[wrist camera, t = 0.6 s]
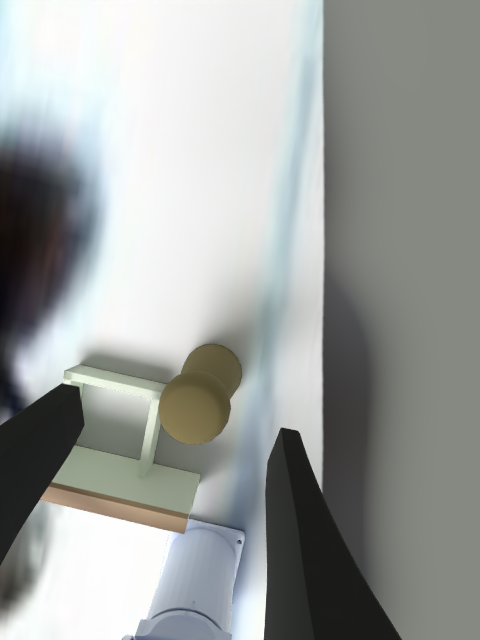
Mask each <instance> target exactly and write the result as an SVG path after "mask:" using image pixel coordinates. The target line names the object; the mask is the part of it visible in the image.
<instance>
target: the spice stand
mask: <svg viewBox="0 0 480 640" xmlns="http://www.w3.org/2000/svg"><path fill="white" fill-rule="evenodd" d="M63 383H64V384H69V385H74V386H79V388H80V395H81V397H82V391H83V385H84V383H85V384H89V385H93V386H98V387H102V388H107V389H111V390H115V391H120V392H124V393H129V394H133V395H138V396H142V397H146V398H151V404H150V410H149V415H148V420H147V425H146V431H145V436H144V441H143V446H142V452H141V457H140V460H136V459H132V458H128V457H123V456H119V455H115V454H110V453H106V452H102V451H98V450H93V449H89V448H85V447H80V446H76V445H74V447H73V449H72V451H71V453H70V454H69V456H68V457H67V459H66V460H65V462H64V463H63V465H62V467H61V468H60V470H59V471H58V473H57V474H56V476H55V477H54V479H53V480H52V482H51V483H50V485H49V486H48V488H47V489H46V491H45V492H44V494H43V495H42V497H41V498H40V500H42V501H46V502H51V503H55V504H59V505H63V506H67V507H72V508H76V509H80V510H84V511H88V512H93V513H97V514H101V515H105V516H109V517H114V518H118V519H122V520H126V521H130V522H135V523H139V524H143V525H147V526H151V527H156V528H160V529H164V530H168V531H172V532H176V533H181V534H184V533H185V530H186V526H187V523H188V519H189V516H190V513H191V509H192V506H193V502H194V499H195V495H196V492H197V488H198V485H199V480H200V476H201V474H196V473H192V472H188V471H184V470H179V469H175V468H171V467H166V466H162V465H158V464H153V462H154V456H155V451H156V446H157V441H158V436H159V431H160V426H161V422H160V419H159V413H158V405H159V401H160V396H161V393H162V392H163V390H164V388H165V387H166V385H167V384H163V383H159V382H154V381H150V380H145V379H141V378H137V377H132V376H128V375H123V374H119V373H114V372H110V371H106V370H101V369H97V368H92V367H88V366H83V365H77V366H75V367H72V368H70V369H67V370H65V371H64V377H63Z"/></svg>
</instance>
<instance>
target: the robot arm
mask: <svg viewBox="0 0 480 640" xmlns="http://www.w3.org/2000/svg"><path fill="white" fill-rule="evenodd" d="M83 427H84V418H83V411H82V403H81V395H80V388H79V386H74V385H69V384H64V383H62V384H60V385H59V386H57V387H56V388H54V389H53V390H51V391H50V392H48V393H47V394H45V395H44V396H43V397H41V398H40V399H38V400H37V401H35V402H34V403H33V404H31V405H30V406H28V407H27V408H25V409H24V410H22V411H21V412H19V413H18V414H16V415H15V416H13V417H12V418H10V419H9V420H7V421H6V422H4V423H3V424H1V425H0V565H1V563H2V561H3V560H4V558H5V556H6V554H7V552H8V551H9V549H10V547H11V545H12V543H13V541H14V540H15V538H16V536H17V534H18V532H19V531H20V529H21V528H22V526H23V524H24V523H25V521H26V519H27V518H28V516H29V515H30V513H31V512H32V510H33V509H34V507H35V506H36V504H37V503H38V501H39V500H40V498H41V497H42V495H43V494H44V492H45V491H46V489H47V488H48V486H49V485H50V483H51V482H52V480H53V479H54V477H55V476H56V474H57V473H58V471H59V470H60V468H61V467H62V465H63V463H64V462H65V460H66V459H67V457H68V456H69V454H70V453H71V451H72V449H73V447H74V445H75V443H76V441H77V439H78V437H79V435H80V433H81V431H82V429H83ZM265 497H266V538H267V594H266V613H265V630H264V640H402V639H401V638H400V636H399V634H398V632H397V631H396V629H395V628H394V626H393V624H392V623H391V621H390V620H389V618H388V616H387V615H386V613H385V612H384V610H383V608H382V607H381V605H380V604H379V602H378V600H377V599H376V598H375V596H374V594H373V592H372V591H371V589H370V587H369V585H368V584H367V582H366V580H365V578H364V577H363V575H362V573H361V572H360V570H359V568H358V566H357V564H356V563H355V561H354V559H353V557H352V556H351V553H350V551H349V550H348V548H347V546H346V544H345V542H344V540H343V538H342V536H341V534H340V532H339V530H338V528H337V526H336V523H335V521H334V519H333V517H332V515H331V513H330V511H329V508H328V507H327V504H326V502H325V499H324V497H323V495H322V492H321V490H320V488H319V485H318V483H317V480H316V478H315V475H314V473H313V470H312V468H311V465H310V462H309V460H308V457H307V454H306V451H305V448H304V445H303V442H302V439H301V436H300V433H299V432H298V431H296V430H291V429H286V428H281V429H280V431H279V434H278V436H277V439H276V442H275V444H274V447H273V449H272V452H271V455H270V457H269V460H268V464H267V477H266V491H265ZM238 540H241V541H238ZM244 541H245V533H244V532H243V531H239V530H235V529H231V528H227V527H223V526H218V525H214V524H210V523H206V522H201V521H197V520H193V519H188V523H187V526H186V530H185V533H184V534H181V533H176V532H172V531H169V535H168V540H167V545H166V549H165V554H164V559H163V564H162V569H161V574H160V579H159V583H158V586H157V589H156V592H155V595H154V598H153V601H152V604H151V607H150V610H149V613H148V616H147V619H146V620H143V619H142V620H140V623H139V626H138V629H137V632H136V635H135V638H134V637H133V636H131V635H126V636H124V637H123V638H122V640H232V634H230V624H231V611H232V597H233V588H234V584H235V579H236V575H237V571H238V566H239V562H240V558H241V554H242V549H243V545H244Z"/></svg>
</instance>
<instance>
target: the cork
mask: <svg viewBox="0 0 480 640" xmlns="http://www.w3.org/2000/svg"><path fill="white" fill-rule="evenodd" d="M241 377H242V373H241V365H240V363H239V361H238V358H237V357H236V356H235V355H234V354H233V352H232V351H230V350H229V349H227V348H225V347H224V346H220V345H216V344H209V345H203V346H201V347H198V348H196V349H195V350H194V351H193V352H192V353H190V354H189V356H188V358H187V360H186V361H185V363H184V366H183V369H182V371H181V374H180V375H178V376H176V377H175V378H174V379H173V380H171V381H170V382H169V383H168V384H167V385H166V387H165V388H164V390H163V392H162V393H161V396H160V401H159V405H158V413H159V419H160V422H161V424H162V426H163V428H164V430H165V431H166V432H167V433H168V434H169V435H170V436H171V437H172V438H174V439H176V440H177V441H179V442H181V443H185V444H190V445H196V444H203V443H206V442H208V441H211V440H213V439H214V438H215V437H216V436H217V435H219V434H220V433H221V432H222V430H223V429H224V427H225V426H226V424H227V422H228V419H229V415H230V410H231V405H230V399H231V397H232V396H233V394H234V393H235V391H236V389H237V388H238V386H239V385H240V381H241Z"/></svg>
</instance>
